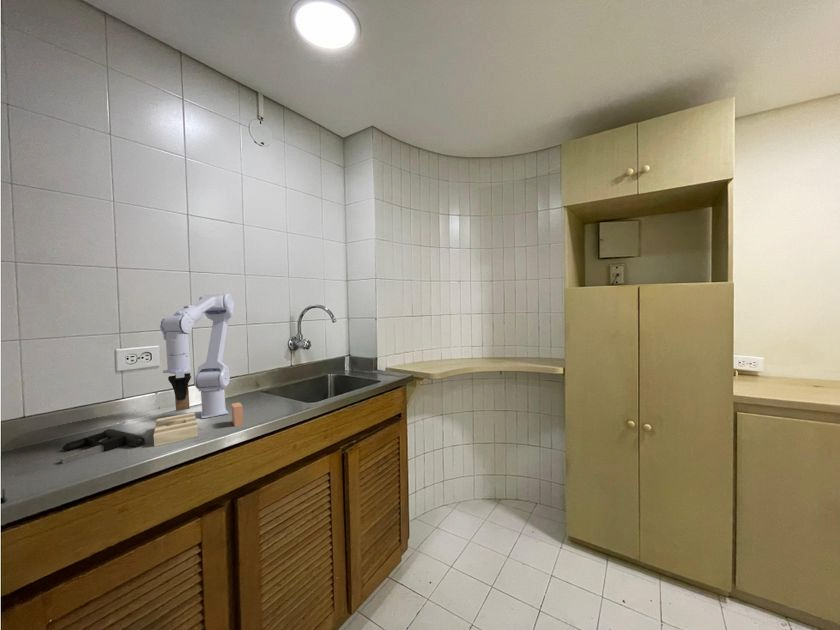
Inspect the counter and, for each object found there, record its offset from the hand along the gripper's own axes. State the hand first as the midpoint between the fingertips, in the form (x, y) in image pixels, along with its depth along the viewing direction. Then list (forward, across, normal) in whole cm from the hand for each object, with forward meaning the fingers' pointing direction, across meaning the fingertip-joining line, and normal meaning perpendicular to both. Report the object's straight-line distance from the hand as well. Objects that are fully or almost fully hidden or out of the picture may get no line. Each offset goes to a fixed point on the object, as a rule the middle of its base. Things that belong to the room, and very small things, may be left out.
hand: (180, 398), depth 104 cm
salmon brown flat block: (+10, +4, +14) cm, 18 cm away
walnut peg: (+3, 0, 0) cm, 3 cm away
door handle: (+11, 0, -19) cm, 22 cm away
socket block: (+10, 0, -2) cm, 10 cm away
